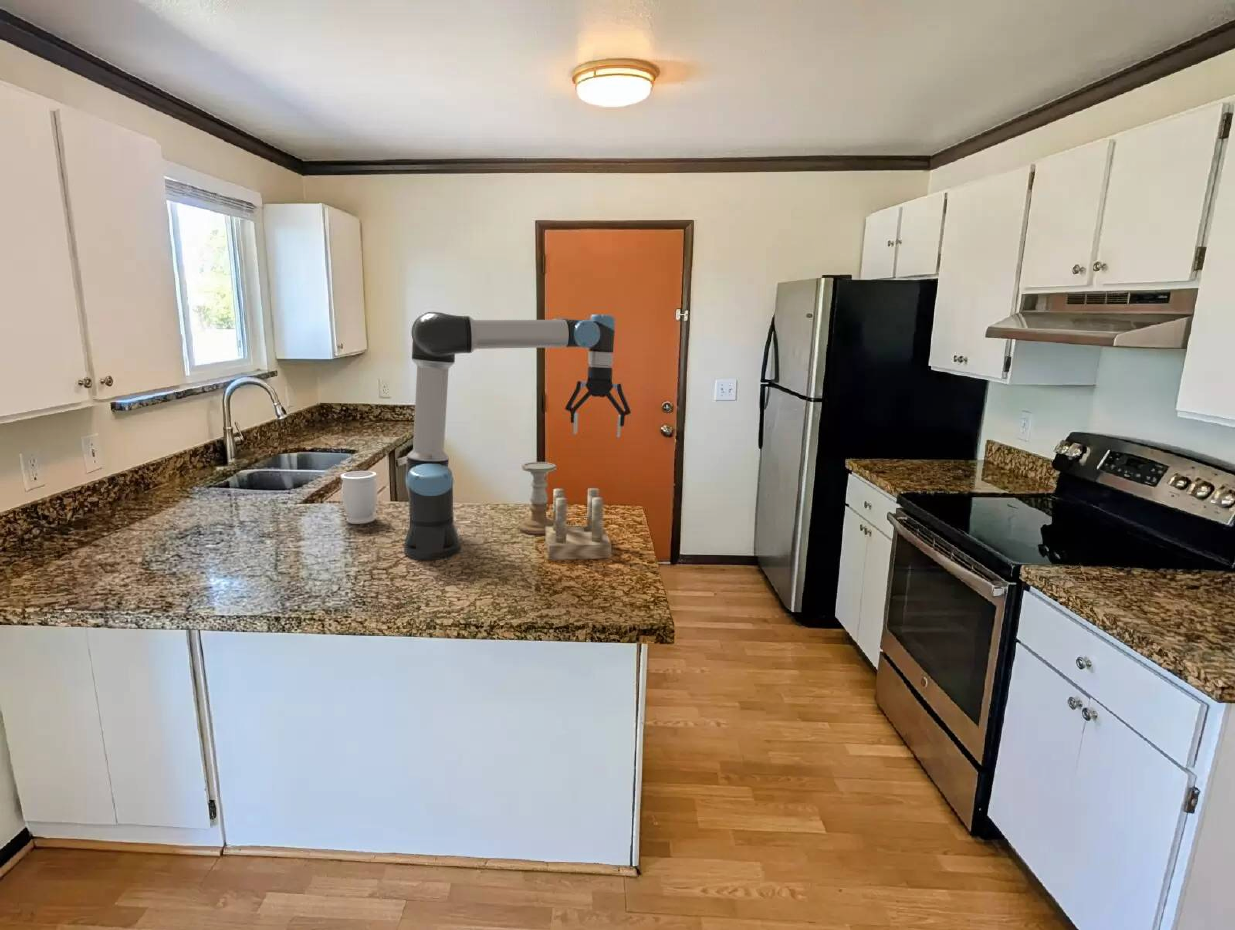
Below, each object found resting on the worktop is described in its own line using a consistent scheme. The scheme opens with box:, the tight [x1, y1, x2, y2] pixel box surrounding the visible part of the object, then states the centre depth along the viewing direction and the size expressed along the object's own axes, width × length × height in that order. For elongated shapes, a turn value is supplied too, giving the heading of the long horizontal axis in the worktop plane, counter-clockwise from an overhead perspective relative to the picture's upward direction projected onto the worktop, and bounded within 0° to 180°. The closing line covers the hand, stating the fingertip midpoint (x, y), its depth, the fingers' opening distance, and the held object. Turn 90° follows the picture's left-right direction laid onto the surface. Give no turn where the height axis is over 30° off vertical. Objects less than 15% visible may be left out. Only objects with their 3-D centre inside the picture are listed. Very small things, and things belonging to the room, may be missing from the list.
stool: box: [544, 488, 612, 561], centre depth 188 cm, size 17×17×16 cm
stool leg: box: [586, 487, 600, 532], centre depth 193 cm, size 3×3×16 cm
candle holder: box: [518, 461, 557, 535], centre depth 204 cm, size 12×12×20 cm
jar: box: [340, 470, 378, 525], centre depth 207 cm, size 11×10×15 cm
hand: (596, 435), depth 207 cm, fingers open, 13 cm apart
